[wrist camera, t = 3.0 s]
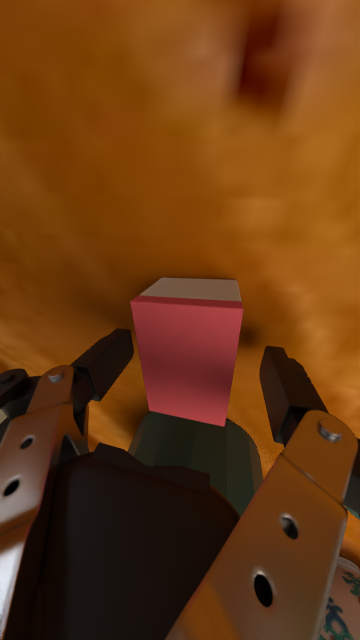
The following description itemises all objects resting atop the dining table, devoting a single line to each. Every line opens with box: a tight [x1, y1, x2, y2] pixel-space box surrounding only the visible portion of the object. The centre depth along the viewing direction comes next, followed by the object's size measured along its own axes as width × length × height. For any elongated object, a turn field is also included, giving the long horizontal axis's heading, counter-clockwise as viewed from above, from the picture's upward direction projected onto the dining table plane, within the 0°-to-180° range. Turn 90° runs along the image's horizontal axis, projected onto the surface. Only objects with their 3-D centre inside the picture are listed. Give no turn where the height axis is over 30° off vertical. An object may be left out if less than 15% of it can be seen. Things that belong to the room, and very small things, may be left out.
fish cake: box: [130, 278, 243, 426], centre depth 10 cm, size 7×4×4 cm, turn 1°
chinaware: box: [319, 556, 360, 640], centre depth 21 cm, size 15×15×8 cm
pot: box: [127, 411, 263, 517], centre depth 15 cm, size 12×12×8 cm
